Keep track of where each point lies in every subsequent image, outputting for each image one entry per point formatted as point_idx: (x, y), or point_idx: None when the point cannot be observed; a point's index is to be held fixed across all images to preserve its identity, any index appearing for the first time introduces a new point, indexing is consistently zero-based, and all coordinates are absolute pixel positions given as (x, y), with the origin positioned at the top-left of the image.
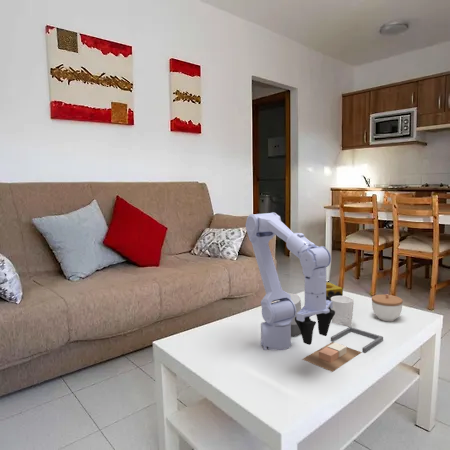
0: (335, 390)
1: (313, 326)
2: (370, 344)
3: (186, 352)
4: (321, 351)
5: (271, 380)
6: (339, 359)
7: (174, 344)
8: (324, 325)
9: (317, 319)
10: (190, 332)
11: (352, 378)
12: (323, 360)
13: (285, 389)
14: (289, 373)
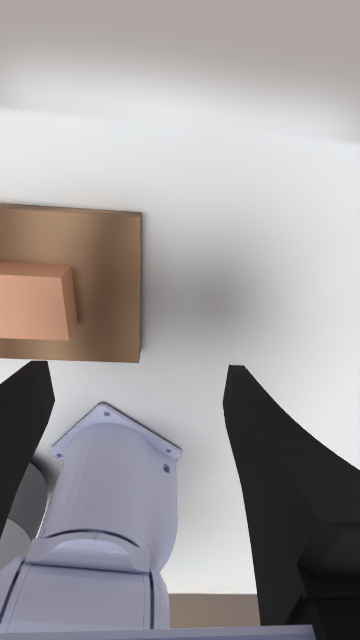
0: (233, 141)
1: (310, 476)
2: None
3: None
4: (59, 332)
5: (305, 360)
6: (10, 250)
7: None
8: (10, 432)
9: (8, 514)
10: (206, 590)
11: (79, 126)
12: (81, 298)
13: (334, 300)
14: (229, 345)
